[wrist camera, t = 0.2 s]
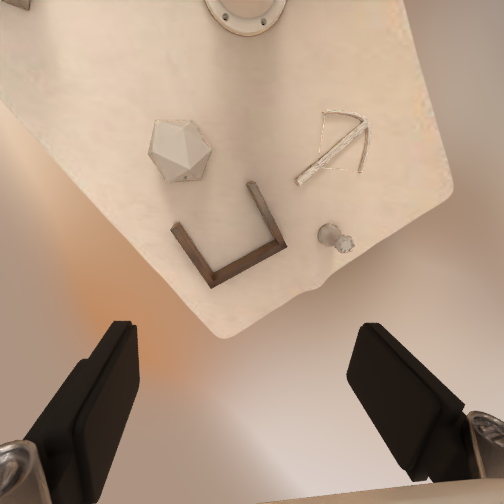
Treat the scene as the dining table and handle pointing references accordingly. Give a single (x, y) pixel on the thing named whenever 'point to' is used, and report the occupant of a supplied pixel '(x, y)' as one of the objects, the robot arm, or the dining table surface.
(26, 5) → the cosmetic box
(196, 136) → the die
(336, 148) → the crossbow
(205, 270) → the bay
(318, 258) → the dining table surface
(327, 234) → the rook chess piece
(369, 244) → the dining table surface
